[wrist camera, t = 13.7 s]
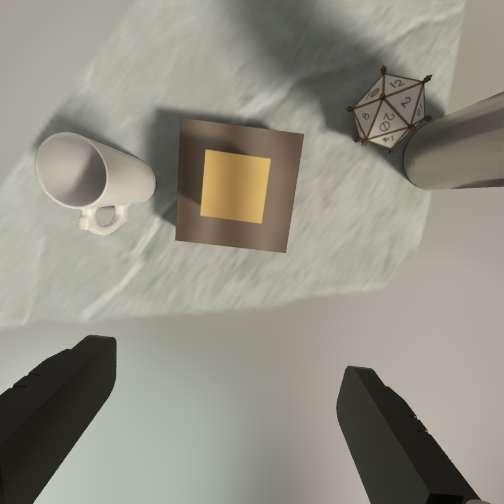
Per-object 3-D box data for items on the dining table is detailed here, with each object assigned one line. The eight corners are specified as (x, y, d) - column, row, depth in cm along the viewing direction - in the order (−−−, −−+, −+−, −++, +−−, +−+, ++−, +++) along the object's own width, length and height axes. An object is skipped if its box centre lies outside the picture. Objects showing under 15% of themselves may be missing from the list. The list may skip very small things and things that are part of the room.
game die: (366, 141, 36) (408, 175, 29) (322, 125, 32) (359, 160, 26) (412, 73, 30) (478, 96, 23) (364, 44, 26) (425, 63, 20)
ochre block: (266, 167, 27) (270, 158, 21) (259, 218, 28) (261, 223, 23) (215, 160, 27) (205, 149, 21) (210, 212, 28) (200, 215, 22)
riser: (294, 145, 32) (304, 134, 26) (279, 243, 35) (285, 252, 29) (193, 132, 32) (180, 117, 26) (187, 233, 35) (175, 240, 29)
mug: (110, 152, 32) (31, 126, 21) (159, 159, 33) (108, 137, 21) (110, 224, 34) (39, 237, 23) (156, 230, 35) (108, 246, 23)
